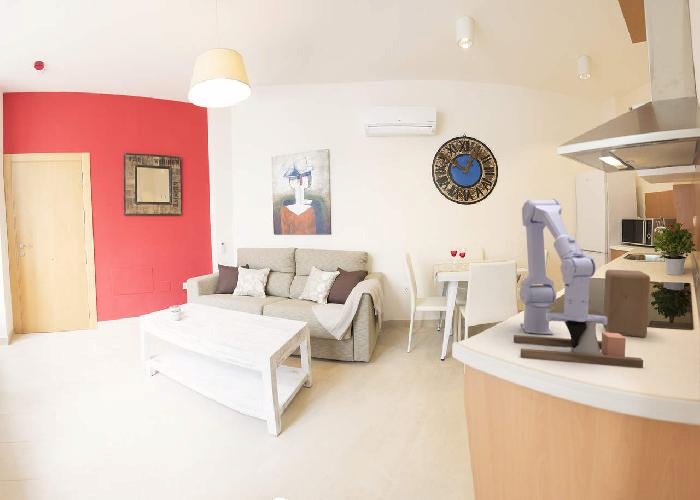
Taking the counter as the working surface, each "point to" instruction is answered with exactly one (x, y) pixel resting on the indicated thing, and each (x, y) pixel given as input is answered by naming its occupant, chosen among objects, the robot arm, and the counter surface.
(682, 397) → the counter surface
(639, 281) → the wooden block
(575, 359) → the strip
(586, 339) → the flask
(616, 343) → the block
